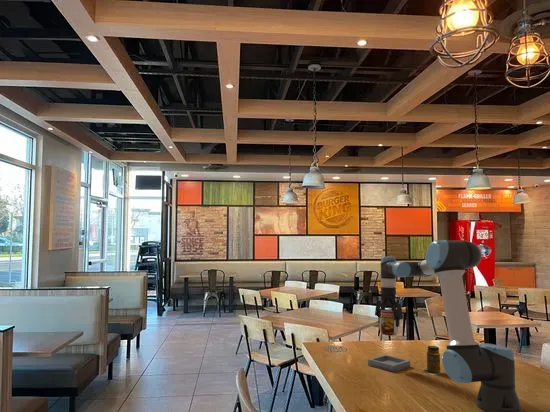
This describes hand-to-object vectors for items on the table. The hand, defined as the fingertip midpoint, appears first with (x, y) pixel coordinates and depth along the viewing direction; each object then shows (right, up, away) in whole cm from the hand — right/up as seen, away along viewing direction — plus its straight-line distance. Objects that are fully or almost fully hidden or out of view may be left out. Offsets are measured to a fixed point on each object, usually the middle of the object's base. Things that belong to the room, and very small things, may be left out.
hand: (388, 331), depth 213 cm
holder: (0, -17, -2) cm, 17 cm away
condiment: (+18, -17, -11) cm, 27 cm away
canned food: (0, -1, 0) cm, 1 cm away
